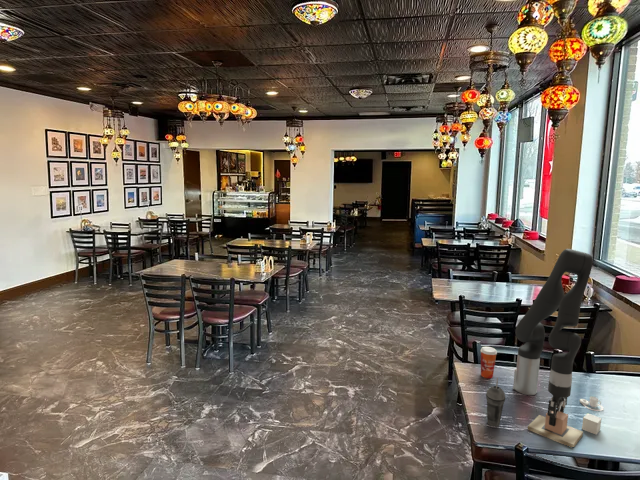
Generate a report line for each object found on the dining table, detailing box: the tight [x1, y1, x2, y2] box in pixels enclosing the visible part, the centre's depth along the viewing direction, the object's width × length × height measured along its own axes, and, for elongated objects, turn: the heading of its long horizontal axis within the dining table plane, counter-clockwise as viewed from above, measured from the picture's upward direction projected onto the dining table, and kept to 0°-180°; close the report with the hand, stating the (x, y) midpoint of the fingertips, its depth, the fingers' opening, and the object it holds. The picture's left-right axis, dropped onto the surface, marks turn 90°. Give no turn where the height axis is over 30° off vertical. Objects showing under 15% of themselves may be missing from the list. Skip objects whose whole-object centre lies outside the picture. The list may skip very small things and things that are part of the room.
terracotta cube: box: [545, 411, 569, 435], centre depth 166 cm, size 6×6×6 cm
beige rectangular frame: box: [527, 414, 584, 448], centre depth 166 cm, size 16×12×2 cm
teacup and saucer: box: [579, 396, 605, 412], centre depth 187 cm, size 9×8×4 cm
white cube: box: [581, 413, 602, 435], centre depth 169 cm, size 5×5×5 cm
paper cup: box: [479, 346, 498, 379], centre depth 213 cm, size 8×8×14 cm
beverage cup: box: [485, 377, 507, 428], centre depth 170 cm, size 7×7×20 cm
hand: (555, 421), depth 166 cm, fingers open, 8 cm apart
